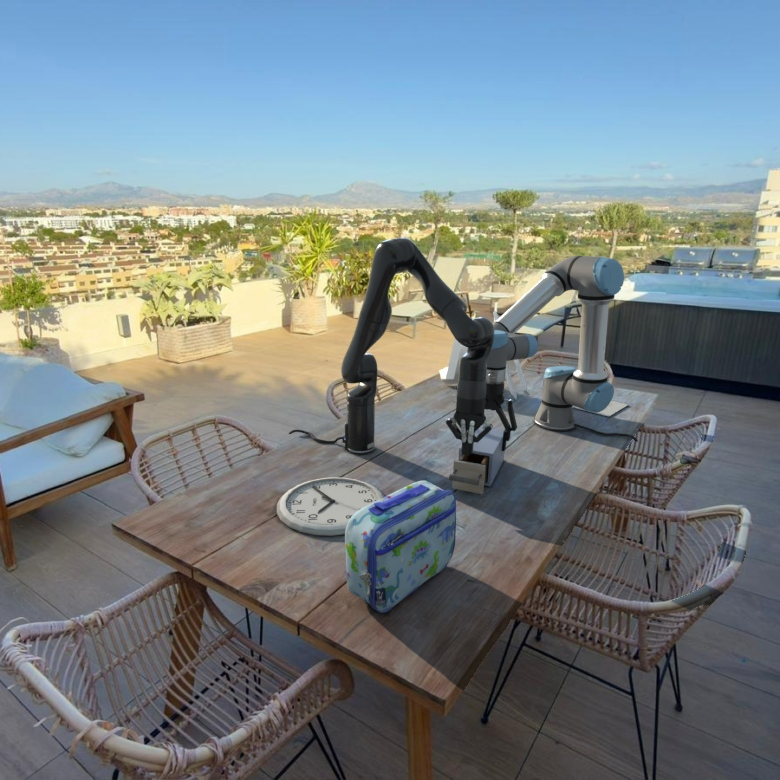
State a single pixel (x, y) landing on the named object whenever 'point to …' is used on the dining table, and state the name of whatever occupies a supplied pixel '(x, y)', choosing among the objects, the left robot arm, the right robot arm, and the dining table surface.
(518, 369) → the white plastic object
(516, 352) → the right robot arm
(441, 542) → the lunch box
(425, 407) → the dining table surface
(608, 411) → the invitation card
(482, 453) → the cabinet
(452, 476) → the drawer
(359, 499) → the wall clock
